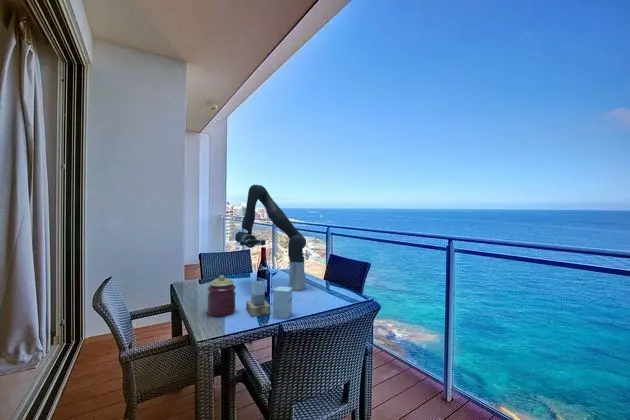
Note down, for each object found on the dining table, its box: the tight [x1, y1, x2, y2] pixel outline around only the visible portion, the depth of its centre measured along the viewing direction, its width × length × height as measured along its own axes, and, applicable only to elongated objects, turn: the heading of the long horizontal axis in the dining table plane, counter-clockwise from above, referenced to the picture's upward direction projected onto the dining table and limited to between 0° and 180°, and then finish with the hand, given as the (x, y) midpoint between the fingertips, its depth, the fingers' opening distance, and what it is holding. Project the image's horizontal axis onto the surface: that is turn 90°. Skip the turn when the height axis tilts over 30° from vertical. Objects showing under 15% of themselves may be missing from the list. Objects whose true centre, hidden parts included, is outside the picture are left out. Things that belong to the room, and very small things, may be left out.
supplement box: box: [272, 286, 293, 320], centre depth 138 cm, size 7×7×13 cm
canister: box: [206, 274, 237, 317], centre depth 141 cm, size 13×13×18 cm
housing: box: [250, 280, 266, 306], centre depth 143 cm, size 5×6×10 cm
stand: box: [245, 299, 271, 318], centre depth 143 cm, size 9×11×4 cm
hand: (255, 244), depth 163 cm, fingers open, 8 cm apart
